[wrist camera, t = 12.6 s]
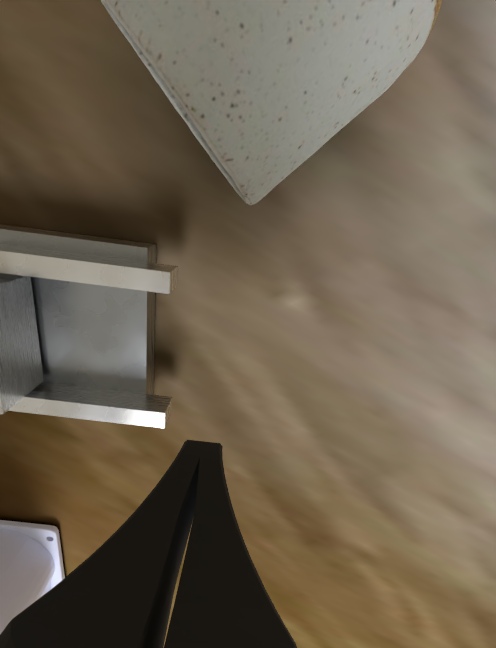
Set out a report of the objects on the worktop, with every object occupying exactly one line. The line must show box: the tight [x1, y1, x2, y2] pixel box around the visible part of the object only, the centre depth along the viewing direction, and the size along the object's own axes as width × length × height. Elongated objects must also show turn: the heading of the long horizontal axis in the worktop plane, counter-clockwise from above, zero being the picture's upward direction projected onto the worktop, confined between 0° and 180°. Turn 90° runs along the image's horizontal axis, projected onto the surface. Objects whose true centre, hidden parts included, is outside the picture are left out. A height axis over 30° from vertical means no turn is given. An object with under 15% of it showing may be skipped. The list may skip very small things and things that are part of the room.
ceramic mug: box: [101, 0, 442, 205], centre depth 10 cm, size 11×8×8 cm
